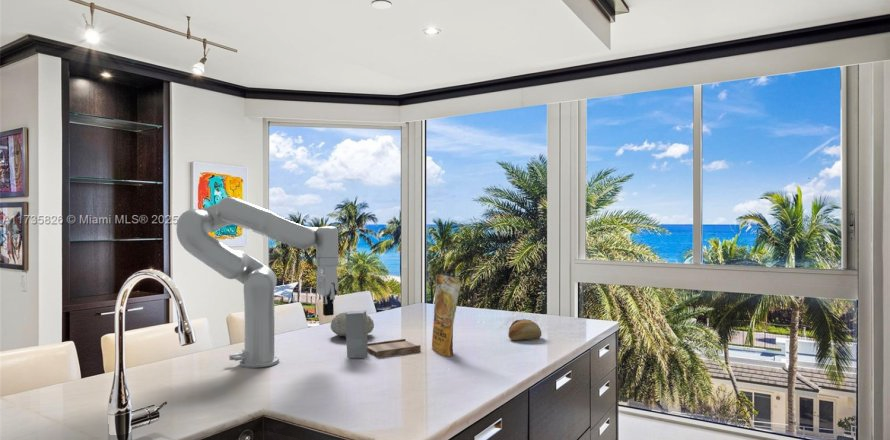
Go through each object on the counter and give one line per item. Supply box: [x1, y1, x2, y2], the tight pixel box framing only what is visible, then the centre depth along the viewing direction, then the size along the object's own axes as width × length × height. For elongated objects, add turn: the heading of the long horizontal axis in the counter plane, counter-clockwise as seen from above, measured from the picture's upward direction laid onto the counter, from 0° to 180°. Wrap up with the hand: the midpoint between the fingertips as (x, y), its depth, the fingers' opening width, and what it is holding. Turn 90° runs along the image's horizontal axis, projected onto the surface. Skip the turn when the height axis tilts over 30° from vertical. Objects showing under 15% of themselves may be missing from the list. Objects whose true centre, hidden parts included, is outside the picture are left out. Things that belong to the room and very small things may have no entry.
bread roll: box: [507, 318, 542, 341], centre depth 214 cm, size 10×15×8 cm, turn 116°
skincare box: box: [345, 310, 369, 359], centre depth 187 cm, size 8×7×16 cm
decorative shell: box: [330, 311, 375, 338], centre depth 218 cm, size 18×18×10 cm
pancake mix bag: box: [431, 273, 462, 358], centre depth 193 cm, size 7×19×28 cm, turn 22°
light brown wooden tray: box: [367, 338, 422, 358], centre depth 194 cm, size 17×13×2 cm
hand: (328, 315), depth 181 cm, fingers closed
